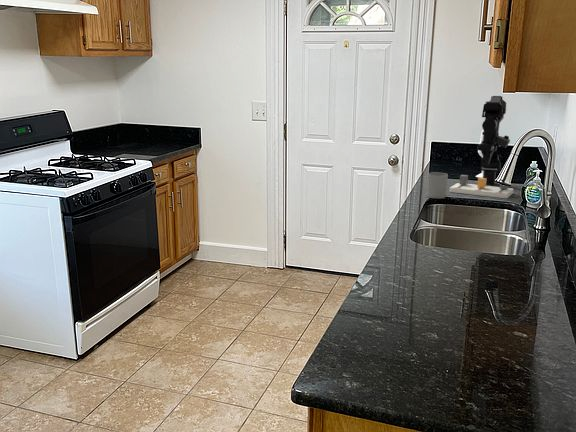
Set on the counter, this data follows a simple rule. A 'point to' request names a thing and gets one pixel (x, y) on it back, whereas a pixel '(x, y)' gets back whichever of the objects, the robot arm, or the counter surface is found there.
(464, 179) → the switch
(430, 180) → the cup
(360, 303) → the counter surface
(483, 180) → the orange matte cube
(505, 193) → the breaker panel
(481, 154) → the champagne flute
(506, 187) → the switch
